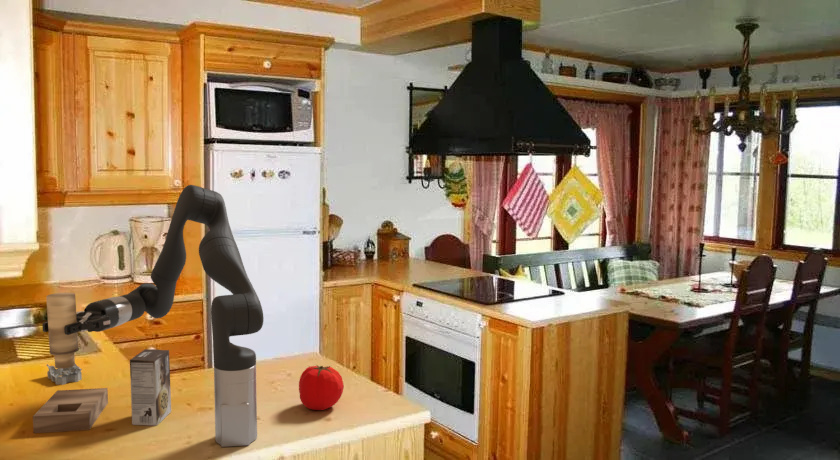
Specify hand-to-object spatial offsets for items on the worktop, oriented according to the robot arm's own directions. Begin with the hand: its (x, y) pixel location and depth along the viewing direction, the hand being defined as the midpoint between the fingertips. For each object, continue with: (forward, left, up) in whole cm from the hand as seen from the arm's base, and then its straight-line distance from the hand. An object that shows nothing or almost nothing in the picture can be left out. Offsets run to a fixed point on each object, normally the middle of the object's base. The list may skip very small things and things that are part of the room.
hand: (54, 329), depth 162 cm
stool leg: (+2, -1, -9) cm, 10 cm away
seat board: (+7, -1, -24) cm, 25 cm away
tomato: (+4, -61, -24) cm, 66 cm away
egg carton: (+38, +9, -24) cm, 46 cm away
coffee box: (+3, -20, -24) cm, 31 cm away
